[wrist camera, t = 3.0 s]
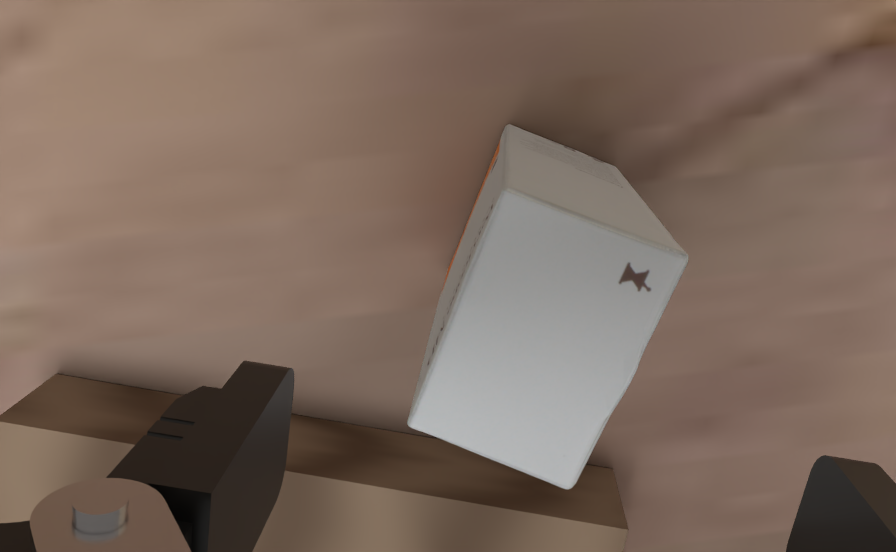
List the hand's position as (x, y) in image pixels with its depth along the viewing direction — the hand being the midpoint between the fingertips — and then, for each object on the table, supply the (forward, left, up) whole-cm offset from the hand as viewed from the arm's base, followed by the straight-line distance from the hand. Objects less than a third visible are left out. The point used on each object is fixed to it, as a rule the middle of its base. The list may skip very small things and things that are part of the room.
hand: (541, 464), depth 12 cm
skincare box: (0, 0, -17) cm, 17 cm away
